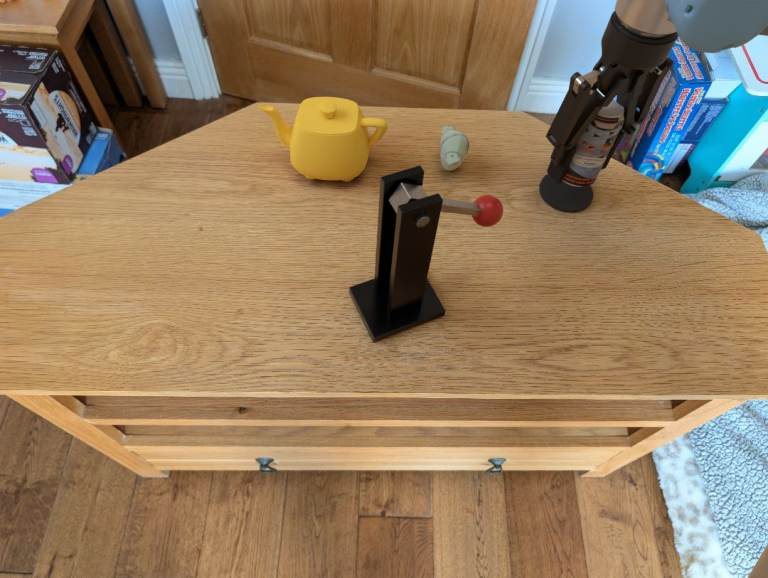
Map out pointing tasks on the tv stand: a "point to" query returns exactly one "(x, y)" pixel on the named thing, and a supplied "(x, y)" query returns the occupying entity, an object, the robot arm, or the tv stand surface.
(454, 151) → the pale green rounded lump
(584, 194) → the coaster
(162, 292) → the tv stand surface
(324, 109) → the teapot
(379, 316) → the bracket
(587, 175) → the beverage can
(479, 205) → the lever
